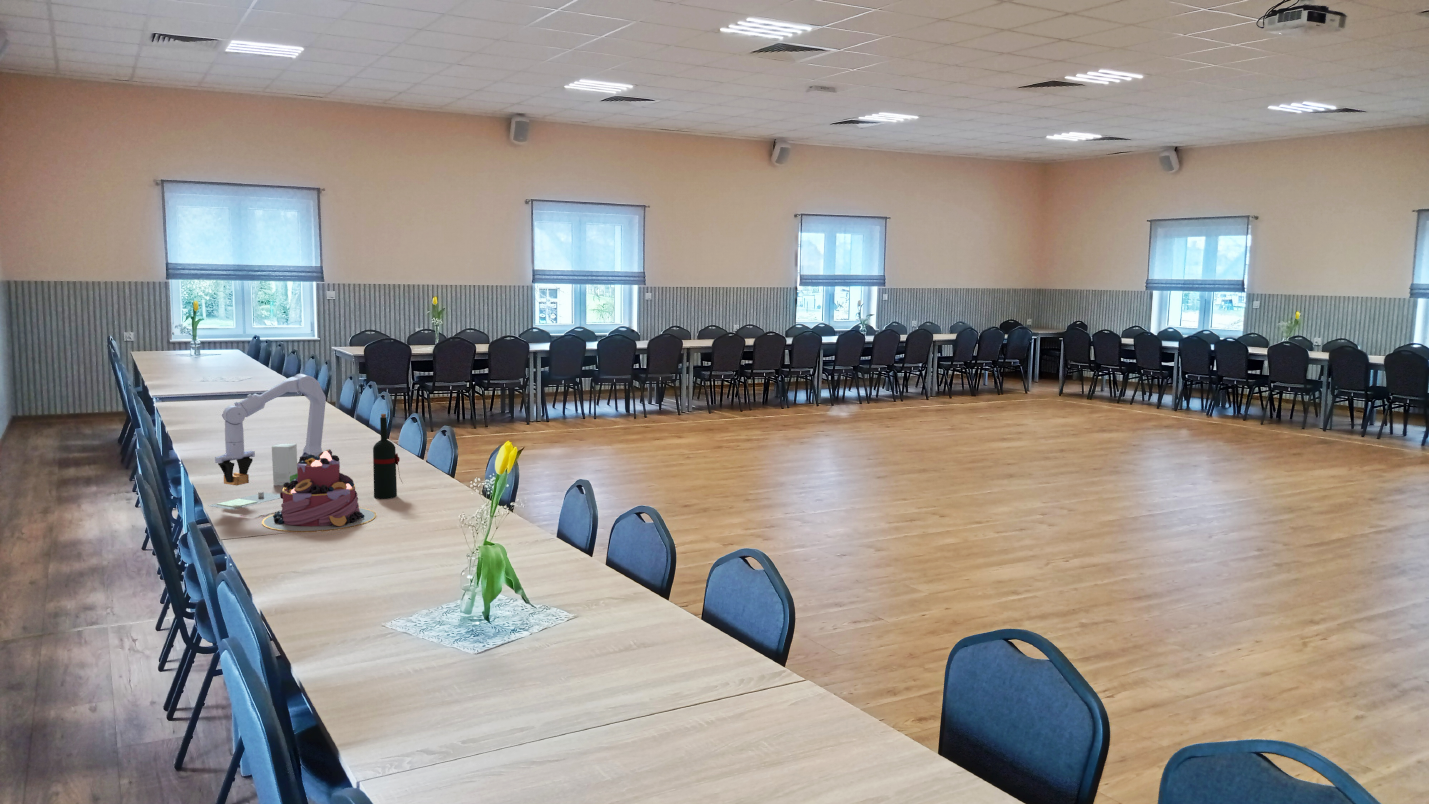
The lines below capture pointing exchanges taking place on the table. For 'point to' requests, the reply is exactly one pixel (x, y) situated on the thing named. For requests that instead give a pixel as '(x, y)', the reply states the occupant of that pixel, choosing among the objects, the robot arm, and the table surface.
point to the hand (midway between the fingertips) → (236, 480)
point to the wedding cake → (319, 499)
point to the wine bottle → (385, 465)
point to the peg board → (247, 501)
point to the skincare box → (284, 463)
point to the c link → (238, 479)
